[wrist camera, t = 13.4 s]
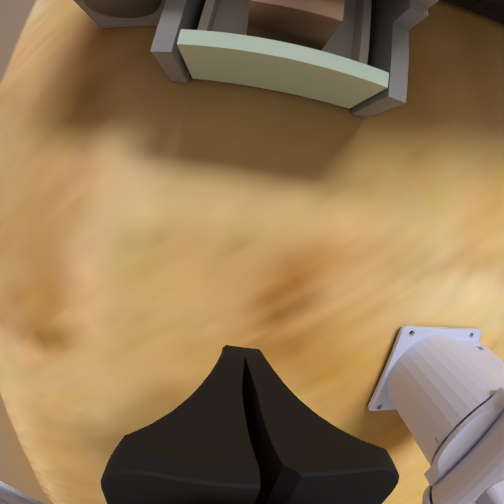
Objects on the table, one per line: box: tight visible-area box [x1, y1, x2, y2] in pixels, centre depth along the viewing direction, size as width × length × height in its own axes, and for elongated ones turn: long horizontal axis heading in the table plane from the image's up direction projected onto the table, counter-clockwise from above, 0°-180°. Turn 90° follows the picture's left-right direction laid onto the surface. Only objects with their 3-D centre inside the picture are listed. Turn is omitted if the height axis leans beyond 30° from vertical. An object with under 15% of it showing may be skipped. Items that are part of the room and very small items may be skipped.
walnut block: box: [247, 0, 345, 51], centre depth 12 cm, size 4×4×5 cm
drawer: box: [177, 0, 389, 109], centre depth 13 cm, size 9×9×5 cm
